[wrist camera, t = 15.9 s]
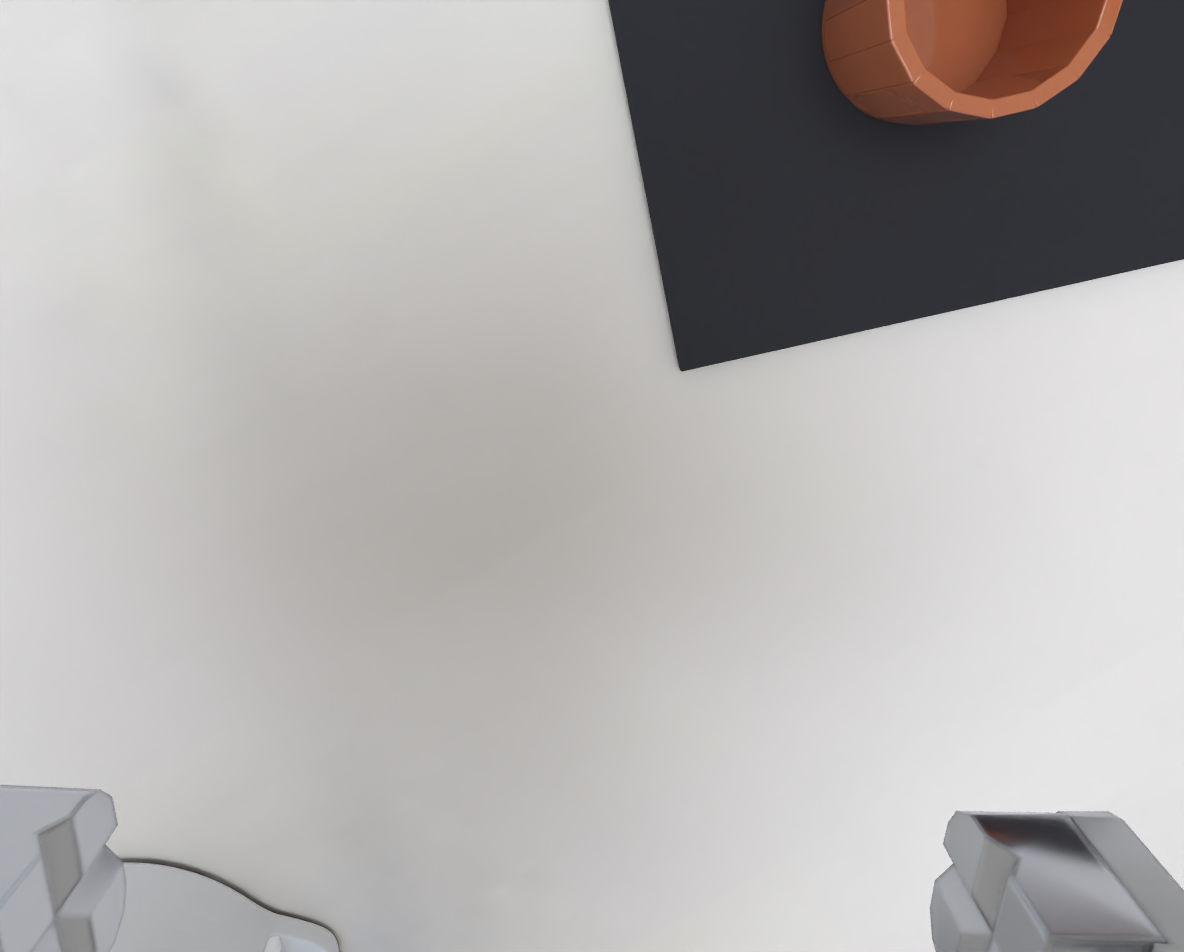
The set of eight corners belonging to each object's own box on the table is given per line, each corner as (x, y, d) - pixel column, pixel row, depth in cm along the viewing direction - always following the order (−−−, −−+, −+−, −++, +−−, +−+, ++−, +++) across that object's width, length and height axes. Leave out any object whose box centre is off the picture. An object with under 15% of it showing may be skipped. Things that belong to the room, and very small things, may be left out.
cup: (1017, 99, 30) (1130, 86, 24) (833, 143, 31) (899, 140, 25) (1006, -112, 28) (1127, -186, 22) (809, -64, 29) (874, -123, 22)
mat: (1207, 250, 33) (1216, 252, 32) (679, 369, 34) (681, 372, 33) (1219, -429, 26) (1231, -439, 26) (559, -255, 27) (559, -263, 27)
